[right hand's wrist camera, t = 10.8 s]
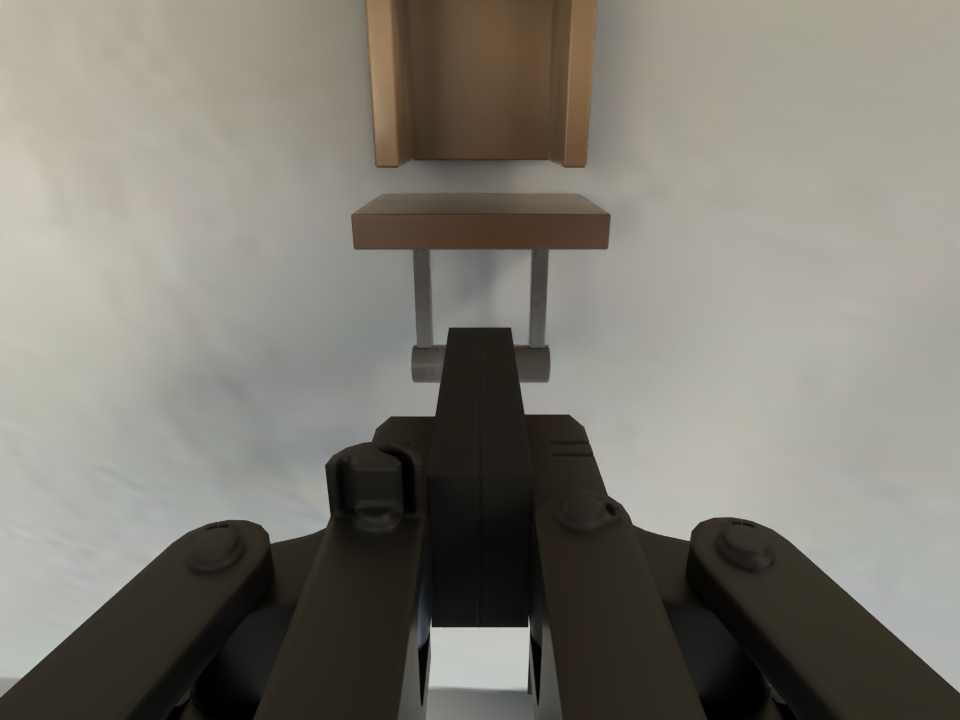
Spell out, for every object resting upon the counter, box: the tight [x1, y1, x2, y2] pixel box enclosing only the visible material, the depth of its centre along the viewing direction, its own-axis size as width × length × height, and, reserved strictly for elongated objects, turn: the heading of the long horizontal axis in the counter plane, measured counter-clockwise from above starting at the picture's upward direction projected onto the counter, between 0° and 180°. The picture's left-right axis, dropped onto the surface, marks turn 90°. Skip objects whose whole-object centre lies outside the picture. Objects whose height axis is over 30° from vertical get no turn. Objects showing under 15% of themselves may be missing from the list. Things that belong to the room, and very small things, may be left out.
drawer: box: [351, 0, 611, 383], centre depth 21 cm, size 24×9×7 cm, turn 0°
